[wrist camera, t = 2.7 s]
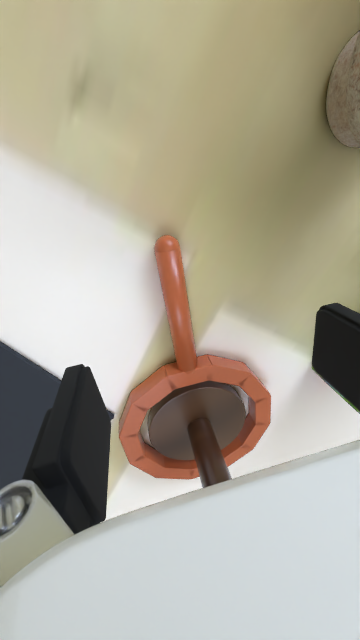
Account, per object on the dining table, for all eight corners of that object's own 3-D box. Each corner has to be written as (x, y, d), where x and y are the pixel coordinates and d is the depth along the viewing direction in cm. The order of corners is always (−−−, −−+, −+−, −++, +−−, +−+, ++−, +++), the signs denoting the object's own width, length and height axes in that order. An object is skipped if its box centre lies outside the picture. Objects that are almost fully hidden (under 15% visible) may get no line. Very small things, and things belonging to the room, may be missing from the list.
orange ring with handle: (263, 443, 28) (270, 456, 27) (140, 479, 27) (141, 495, 25) (263, 214, 17) (275, 216, 16) (53, 254, 16) (47, 261, 14)
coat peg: (126, 422, 23) (132, 727, 10) (205, 360, 22) (331, 618, 9) (187, 461, 27) (248, 712, 14) (256, 411, 26) (395, 638, 13)
